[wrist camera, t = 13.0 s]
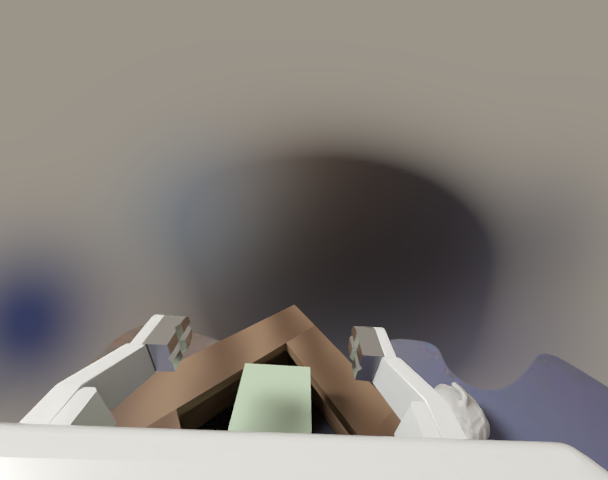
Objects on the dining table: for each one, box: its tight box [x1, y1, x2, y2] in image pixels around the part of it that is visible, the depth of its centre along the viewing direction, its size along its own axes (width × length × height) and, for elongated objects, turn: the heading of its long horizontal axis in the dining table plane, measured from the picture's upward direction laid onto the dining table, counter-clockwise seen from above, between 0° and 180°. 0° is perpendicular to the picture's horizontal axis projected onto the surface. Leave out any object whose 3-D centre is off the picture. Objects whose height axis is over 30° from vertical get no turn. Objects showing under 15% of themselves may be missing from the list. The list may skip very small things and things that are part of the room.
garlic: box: [434, 382, 490, 440], centre depth 22 cm, size 6×5×5 cm
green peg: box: [228, 363, 312, 434], centre depth 16 cm, size 4×4×12 cm
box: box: [111, 305, 401, 437], centre depth 16 cm, size 16×16×9 cm
